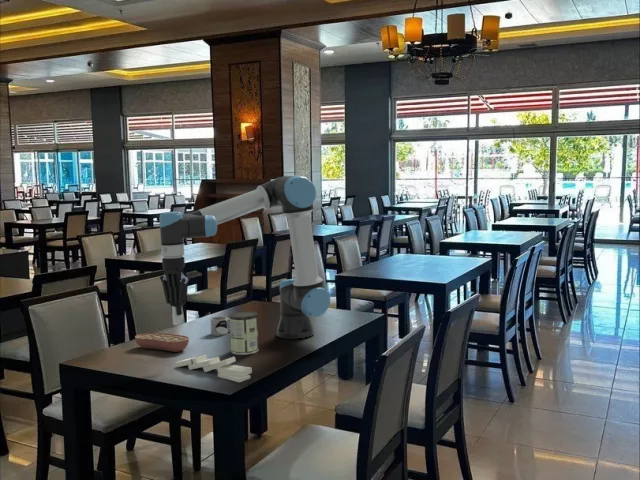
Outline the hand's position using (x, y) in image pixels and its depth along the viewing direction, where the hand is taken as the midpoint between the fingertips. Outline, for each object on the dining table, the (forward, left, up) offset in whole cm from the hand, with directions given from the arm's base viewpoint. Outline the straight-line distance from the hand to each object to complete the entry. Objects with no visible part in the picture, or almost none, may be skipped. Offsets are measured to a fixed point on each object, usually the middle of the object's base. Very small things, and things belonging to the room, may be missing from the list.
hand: (177, 324), depth 219 cm
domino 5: (-19, +11, -14) cm, 26 cm away
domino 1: (-2, +2, -13) cm, 14 cm away
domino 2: (-7, +5, -13) cm, 16 cm away
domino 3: (-13, +7, -13) cm, 20 cm away
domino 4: (-19, +10, -12) cm, 25 cm away
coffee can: (-19, -17, -14) cm, 29 cm away
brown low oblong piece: (+13, -18, -14) cm, 27 cm away
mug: (-3, -44, -14) cm, 46 cm away
